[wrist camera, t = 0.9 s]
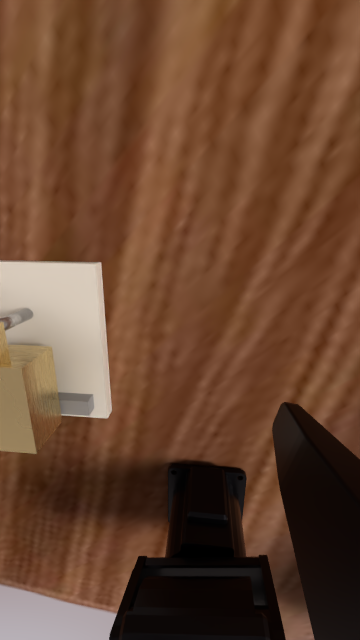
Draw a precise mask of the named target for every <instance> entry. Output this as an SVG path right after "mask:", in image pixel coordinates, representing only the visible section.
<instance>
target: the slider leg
mask: <svg viewBox="0 0 360 640" xmlns="http://www.w3.org/2000/svg"><path fill="white" fill-rule="evenodd" d="M32 317H33V312H32V310H30V309H28V308H25V309H23V310H20V311H18V312H15V313H13V314H10V315H7V316H5V317H2V318H0V451H9V452H21V453H33V454H37V453H38V451H39V450H40V449H41V448H42V446H43V445H44V444H45V442H46V441H47V440H48V439H49V437H50V436H51V435H52V434H53V432H54V431H55V430H56V428H57V427H58V426H59V425H60V423H61V422H62V416H61V409H60V402H59V395H58V387H57V380H56V373H55V366H54V358H53V351H52V347H48V346H28V345H7V339H6V334H5V331H6V330H8V329H10V328H12V327H15V326H17V325H19V324H21V323H23V322H25V321H27V320H29V319H31V318H32Z"/></svg>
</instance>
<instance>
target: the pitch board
mask: <svg viewBox="0 0 360 640" xmlns="http://www.w3.org/2000/svg"><path fill="white" fill-rule="evenodd" d="M25 308H28V309H30V310H32V312H33V317H32V318H31V319H29V320H27V321H25V322H23V323H21V324H19V325H17V326H15V327H12V328H10V329H8V330H6V331H5V334H6V339H7V345H28V346H48V347H52V351H53V358H54V366H55V373H56V380H57V387H58V395H59V402H60V409H61V415H66V416H80V417H94V418H108V417H109V415H110V413H111V411H112V405H111V391H110V378H109V364H108V350H107V336H106V323H105V309H104V295H103V281H102V268H101V262H61V261H12V260H0V318H2V317H5V316H7V315H10V314H13V313H15V312H18V311H20V310H23V309H25Z"/></svg>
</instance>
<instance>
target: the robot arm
mask: <svg viewBox="0 0 360 640" xmlns="http://www.w3.org/2000/svg"><path fill="white" fill-rule="evenodd" d="M272 432H273V440H274V448H275V456H276V464H277V472H278V480H279V486H280V491H281V496H282V500H283V505H284V509H285V513H286V518H287V522H288V526H289V531H290V535H291V539H292V544H293V548H294V552H295V557H296V561H297V565H298V570H299V574H300V578H301V583H302V587H303V591H304V595H305V600H306V604H307V608H308V613H309V617H310V621H311V626H312V630H313V634H314V639H315V640H360V459H359V458H357V457H356V456H355V455H354V454H353V453H352V452H351V451H350V450H349V449H347V448H346V447H345V446H344V445H343V444H342V443H341V442H340V441H339V440H337V439H336V438H335V437H334V436H333V435H332V434H331V433H330V432H328V431H327V430H326V429H325V428H324V427H323V426H322V425H321V424H320V423H318V422H317V421H316V420H315V419H314V418H313V417H312V416H311V415H310V414H308V413H307V412H306V411H305V410H304V409H303V408H302V407H301V406H299V405H298V404H294V403H288V402H284V403H282V404H281V406H280V408H279V410H278V413H277V415H276V418H275V420H274V423H273V428H272ZM173 470H176V471H173ZM245 487H246V473H245V471H243V470H241V469H230V468H218V467H206V466H194V465H181V464H172V465H170V466H169V470H168V521H169V531H168V539H167V547H166V555H165V557H162V558H147V556H139V557H138V559H137V562H136V565H135V568H134V569H133V571H132V574H131V577H130V579H129V582H128V585H127V588H126V590H125V593H124V596H123V599H122V602H121V604H120V607H119V610H118V613H117V616H116V618H115V621H114V624H113V627H112V630H111V633H110V637H109V640H286V639H285V634H284V629H283V625H282V620H281V615H280V611H279V606H278V602H277V597H276V593H275V588H274V584H273V579H272V575H271V570H270V566H269V562H268V557H267V555H259V557H246V551H245V543H244V535H243V528H242V515H243V506H244V496H245Z"/></svg>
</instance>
